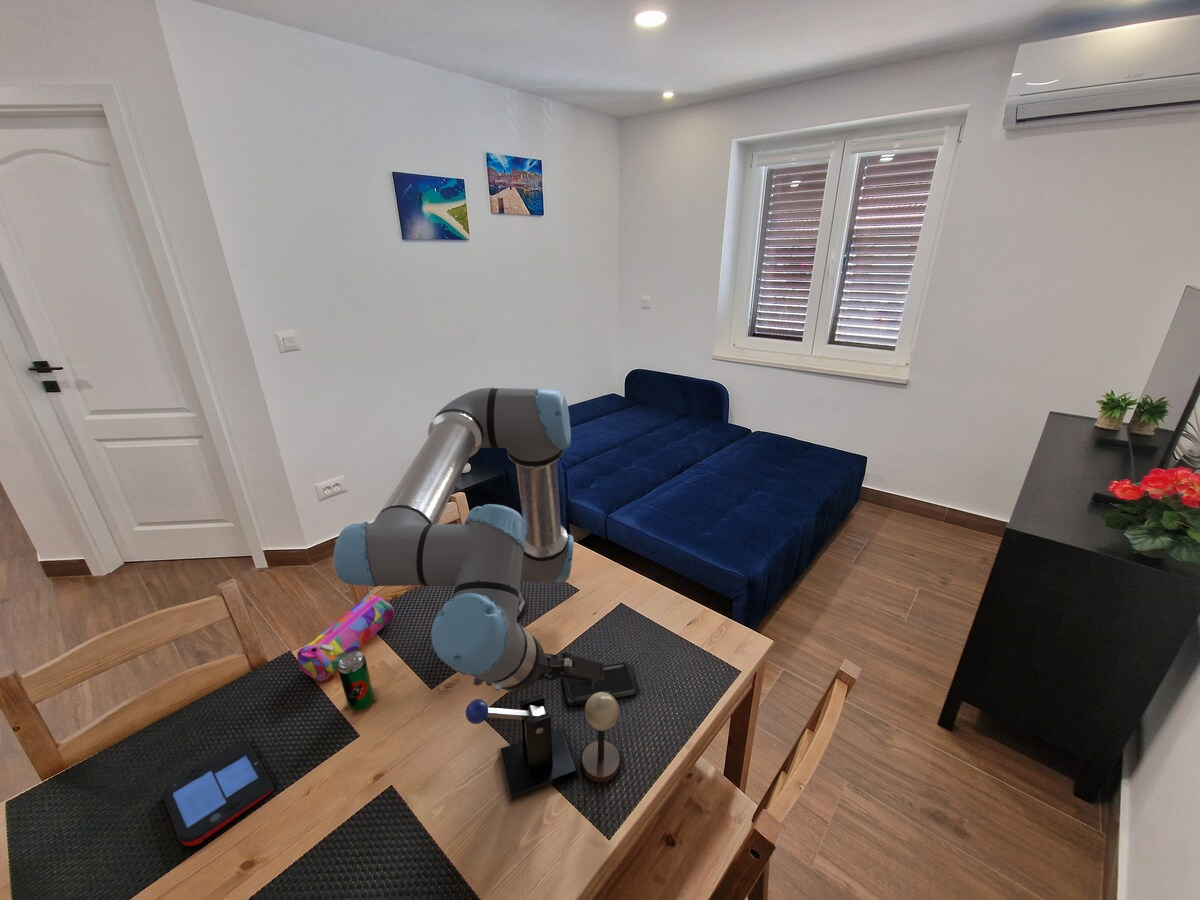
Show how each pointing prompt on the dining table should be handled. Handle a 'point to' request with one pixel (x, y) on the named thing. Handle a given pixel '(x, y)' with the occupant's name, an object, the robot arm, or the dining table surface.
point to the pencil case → (344, 637)
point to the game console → (216, 793)
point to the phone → (603, 685)
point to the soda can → (356, 680)
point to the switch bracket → (536, 754)
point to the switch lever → (499, 712)
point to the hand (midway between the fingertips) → (551, 681)
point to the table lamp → (601, 738)
